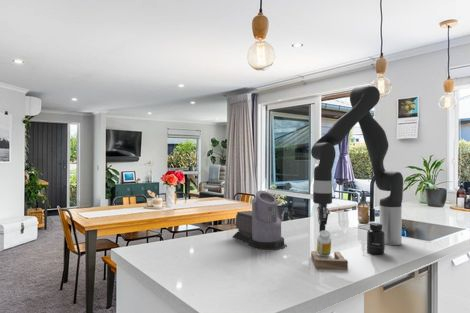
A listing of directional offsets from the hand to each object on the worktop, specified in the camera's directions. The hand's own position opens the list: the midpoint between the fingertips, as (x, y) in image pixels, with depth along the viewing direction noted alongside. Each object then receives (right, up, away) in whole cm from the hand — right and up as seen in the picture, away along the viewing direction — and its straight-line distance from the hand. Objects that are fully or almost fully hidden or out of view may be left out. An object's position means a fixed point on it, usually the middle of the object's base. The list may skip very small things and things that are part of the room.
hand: (322, 233), depth 132 cm
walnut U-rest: (0, -9, -10) cm, 14 cm away
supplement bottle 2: (+23, -9, +3) cm, 25 cm away
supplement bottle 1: (+1, -8, 0) cm, 8 cm away
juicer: (-24, -9, +20) cm, 33 cm away
